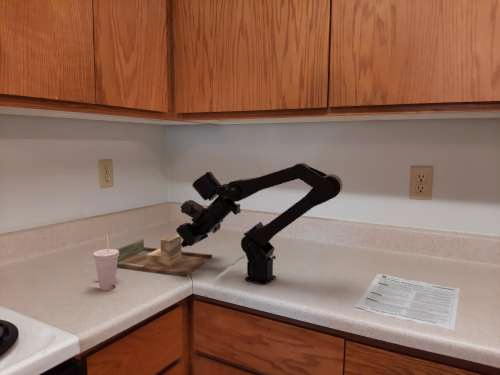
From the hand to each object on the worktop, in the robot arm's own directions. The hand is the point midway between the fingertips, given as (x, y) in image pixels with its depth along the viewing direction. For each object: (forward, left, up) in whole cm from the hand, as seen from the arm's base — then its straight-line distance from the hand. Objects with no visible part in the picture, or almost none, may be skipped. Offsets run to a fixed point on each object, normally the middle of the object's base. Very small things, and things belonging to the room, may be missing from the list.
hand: (182, 245), depth 109 cm
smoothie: (+6, +22, -7) cm, 24 cm away
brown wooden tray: (+7, +2, -7) cm, 10 cm away
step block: (+6, +2, -6) cm, 9 cm away
